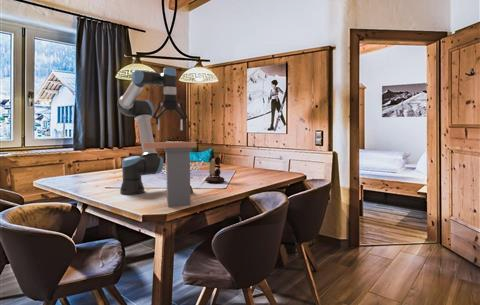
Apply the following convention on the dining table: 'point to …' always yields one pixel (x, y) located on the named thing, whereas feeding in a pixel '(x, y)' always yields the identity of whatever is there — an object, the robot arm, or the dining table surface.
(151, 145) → the slat
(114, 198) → the dining table surface
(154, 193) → the dining table surface
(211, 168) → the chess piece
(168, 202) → the pedestal
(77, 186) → the dining table surface
